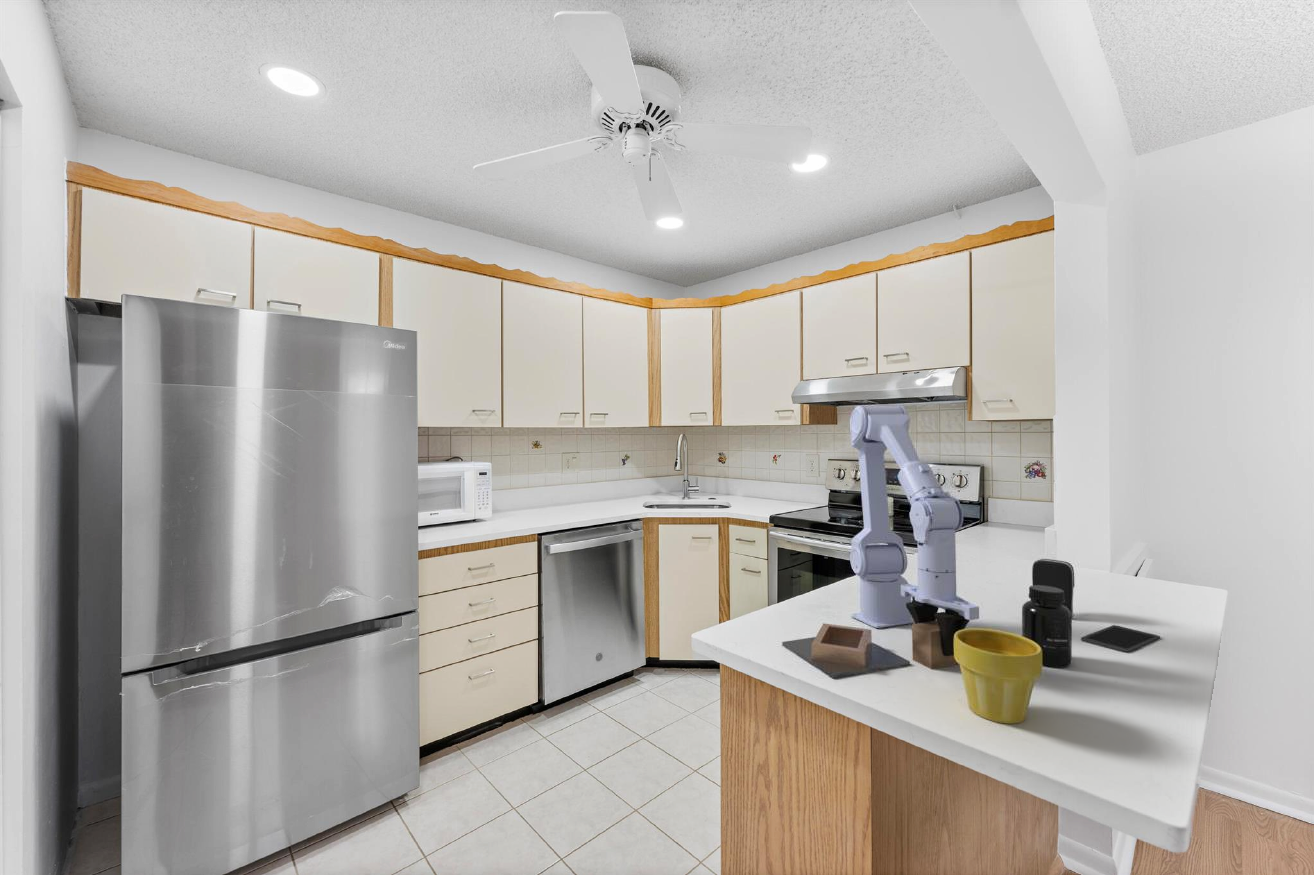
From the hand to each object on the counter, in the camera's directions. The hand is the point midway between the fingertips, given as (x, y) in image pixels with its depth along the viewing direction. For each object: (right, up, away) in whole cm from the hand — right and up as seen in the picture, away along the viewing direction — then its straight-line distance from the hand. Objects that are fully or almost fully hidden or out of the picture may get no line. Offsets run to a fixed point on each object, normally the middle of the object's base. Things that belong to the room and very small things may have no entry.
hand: (938, 649), depth 92 cm
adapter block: (0, -2, 0) cm, 2 cm away
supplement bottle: (+18, -2, 0) cm, 18 cm away
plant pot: (-1, -2, -17) cm, 17 cm away
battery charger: (+36, -2, +23) cm, 42 cm away
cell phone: (+38, -2, +8) cm, 39 cm away
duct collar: (-15, -2, +4) cm, 15 cm away
